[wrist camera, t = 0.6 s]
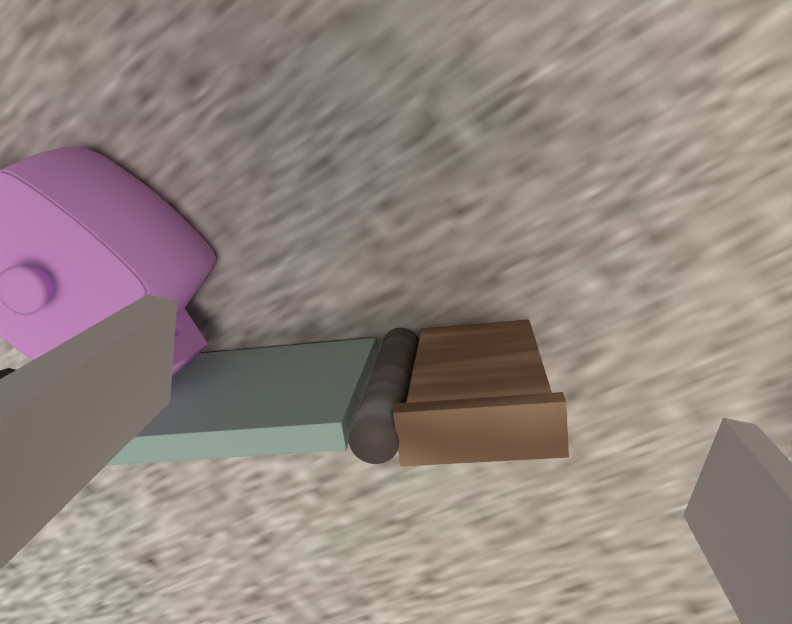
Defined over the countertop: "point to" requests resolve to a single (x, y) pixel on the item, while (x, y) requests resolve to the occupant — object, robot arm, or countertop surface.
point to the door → (259, 403)
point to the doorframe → (460, 398)
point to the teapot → (90, 251)
